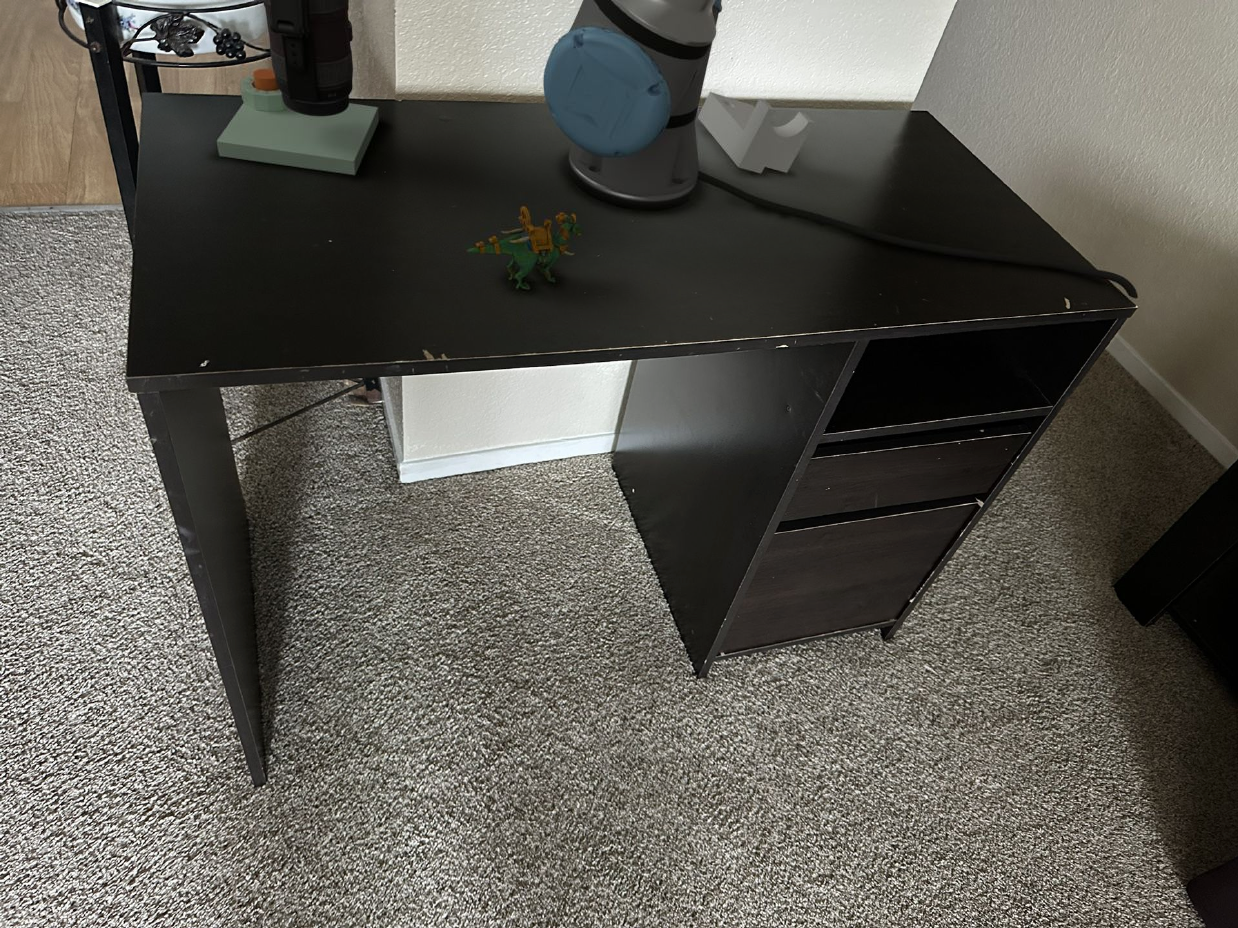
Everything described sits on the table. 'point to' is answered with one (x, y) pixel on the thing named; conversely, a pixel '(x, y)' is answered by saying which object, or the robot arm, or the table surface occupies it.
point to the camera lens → (320, 58)
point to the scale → (296, 133)
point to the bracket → (754, 133)
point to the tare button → (265, 80)
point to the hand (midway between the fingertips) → (314, 81)
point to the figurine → (532, 245)
